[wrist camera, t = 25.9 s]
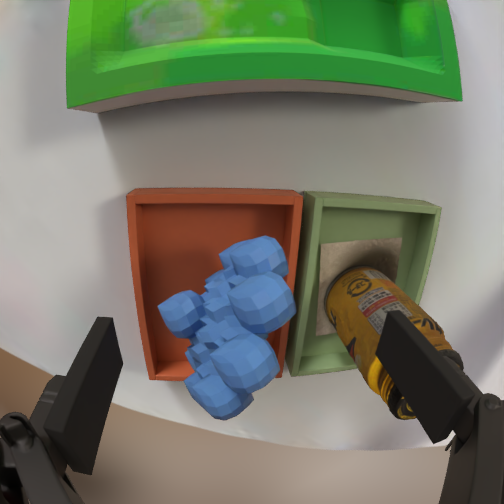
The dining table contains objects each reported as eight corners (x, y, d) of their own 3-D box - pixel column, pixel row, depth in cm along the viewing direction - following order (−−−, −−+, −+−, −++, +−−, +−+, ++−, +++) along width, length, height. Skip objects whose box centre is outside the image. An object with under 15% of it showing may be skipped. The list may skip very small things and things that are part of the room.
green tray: (424, 200, 23) (442, 207, 21) (388, 346, 29) (399, 361, 26) (304, 190, 22) (315, 197, 20) (284, 358, 27) (290, 376, 25)
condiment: (315, 335, 26) (369, 443, 15) (319, 243, 23) (405, 335, 12) (386, 321, 27) (457, 407, 16) (400, 236, 24) (502, 304, 13)
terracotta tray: (293, 189, 22) (303, 196, 19) (276, 359, 27) (281, 377, 25) (134, 188, 20) (126, 194, 18) (152, 361, 25) (149, 380, 23)
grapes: (194, 187, 20) (175, 249, 9) (285, 220, 22) (359, 305, 11) (151, 326, 24) (125, 449, 12) (229, 347, 25) (246, 470, 14)
